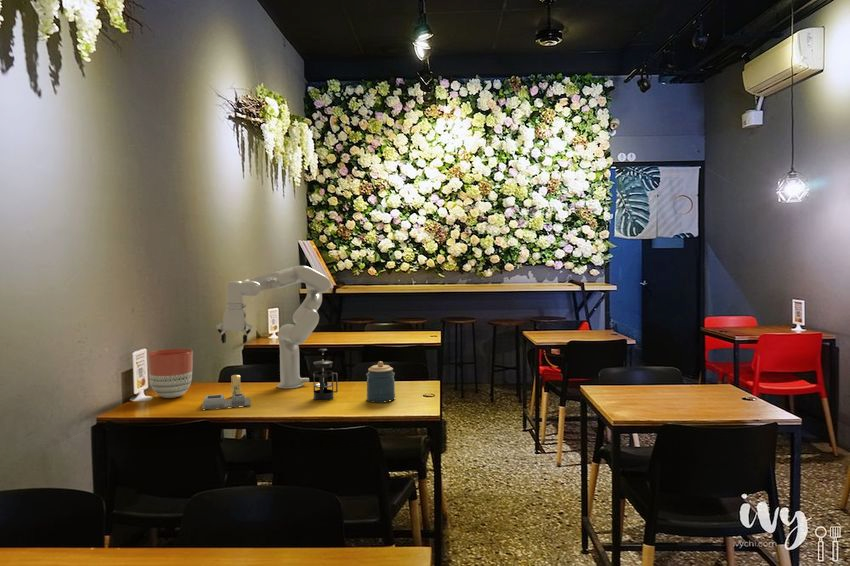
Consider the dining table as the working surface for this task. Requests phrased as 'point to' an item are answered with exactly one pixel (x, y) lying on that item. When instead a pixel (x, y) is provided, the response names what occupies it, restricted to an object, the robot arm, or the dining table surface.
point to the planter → (170, 371)
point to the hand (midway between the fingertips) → (234, 343)
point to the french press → (323, 380)
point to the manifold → (225, 401)
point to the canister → (380, 383)
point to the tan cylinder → (235, 384)
